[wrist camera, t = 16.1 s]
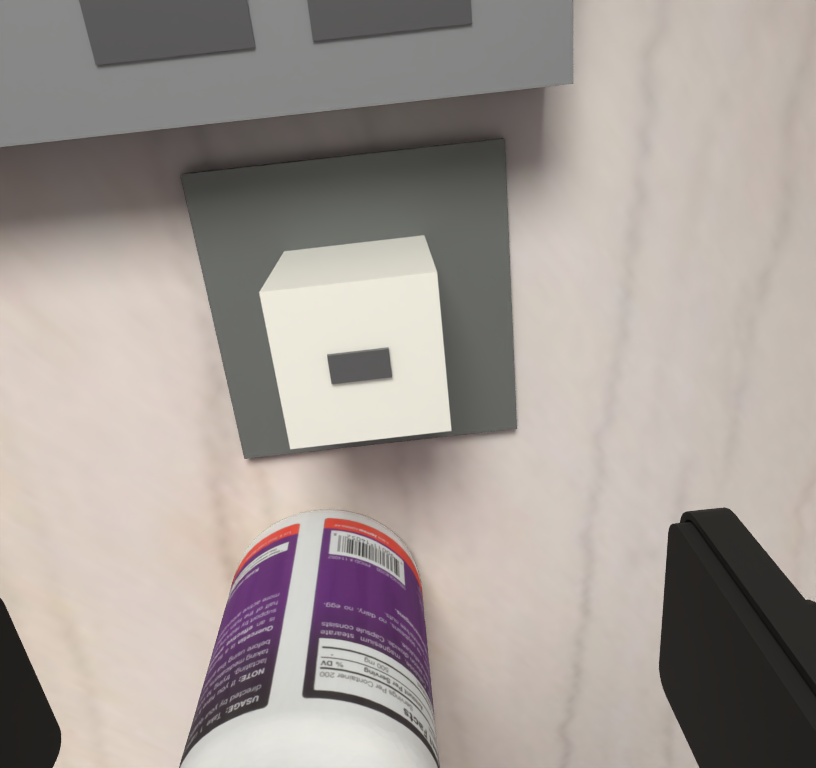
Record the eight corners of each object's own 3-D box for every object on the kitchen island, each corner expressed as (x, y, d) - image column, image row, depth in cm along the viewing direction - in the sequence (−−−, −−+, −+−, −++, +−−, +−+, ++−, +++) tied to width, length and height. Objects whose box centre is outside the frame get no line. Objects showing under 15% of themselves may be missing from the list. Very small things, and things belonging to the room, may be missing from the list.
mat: (502, 138, 23) (504, 139, 23) (514, 424, 27) (516, 428, 27) (183, 173, 23) (180, 175, 23) (246, 453, 27) (244, 458, 27)
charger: (424, 235, 24) (437, 273, 19) (436, 365, 26) (451, 432, 21) (284, 251, 24) (258, 293, 19) (307, 380, 26) (289, 451, 21)
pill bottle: (261, 655, 32) (177, 1057, 18) (218, 512, 28) (80, 873, 15) (432, 631, 31) (472, 1019, 18) (407, 485, 28) (435, 825, 15)
